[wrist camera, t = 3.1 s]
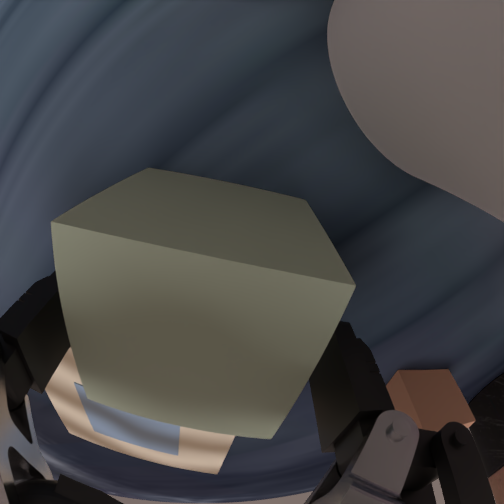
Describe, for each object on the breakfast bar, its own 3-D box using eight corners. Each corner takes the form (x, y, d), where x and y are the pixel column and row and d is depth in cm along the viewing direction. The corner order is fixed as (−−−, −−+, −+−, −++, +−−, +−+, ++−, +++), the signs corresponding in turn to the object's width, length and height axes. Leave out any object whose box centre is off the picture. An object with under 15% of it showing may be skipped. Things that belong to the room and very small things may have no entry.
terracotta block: (397, 369, 15) (424, 433, 10) (447, 368, 15) (475, 420, 11) (361, 413, 17) (376, 471, 12) (411, 410, 17) (430, 459, 13)
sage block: (148, 167, 10) (51, 221, 5) (305, 199, 10) (356, 285, 5) (139, 297, 12) (87, 398, 7) (266, 323, 13) (271, 439, 8)
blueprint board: (24, 317, 13) (17, 325, 13) (253, 382, 15) (253, 394, 14) (71, 426, 20) (69, 433, 19) (217, 467, 21) (217, 475, 20)
